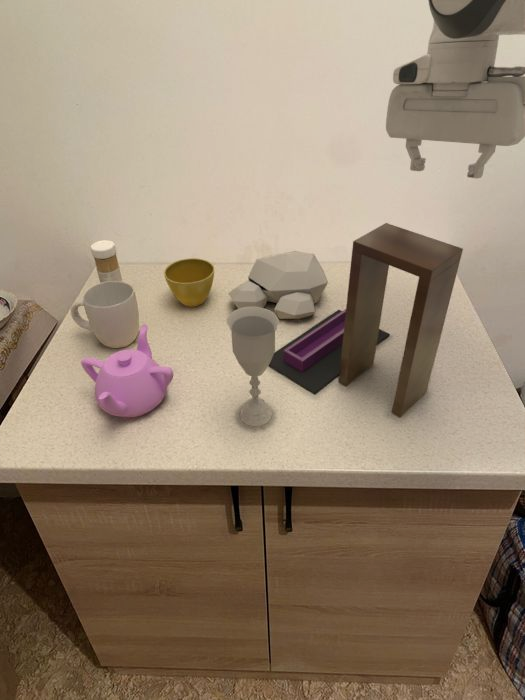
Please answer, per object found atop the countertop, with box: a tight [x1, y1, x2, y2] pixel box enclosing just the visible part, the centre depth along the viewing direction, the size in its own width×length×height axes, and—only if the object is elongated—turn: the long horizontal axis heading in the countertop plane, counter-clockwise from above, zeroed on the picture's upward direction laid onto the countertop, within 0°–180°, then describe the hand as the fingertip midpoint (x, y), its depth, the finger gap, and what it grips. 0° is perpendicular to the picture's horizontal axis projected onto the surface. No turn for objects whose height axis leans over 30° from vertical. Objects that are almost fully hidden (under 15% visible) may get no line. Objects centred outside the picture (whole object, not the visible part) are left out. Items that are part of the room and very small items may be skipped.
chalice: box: [226, 307, 280, 427], centre depth 74 cm, size 7×7×18 cm
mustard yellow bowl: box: [163, 257, 215, 308], centre depth 103 cm, size 10×10×7 cm
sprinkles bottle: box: [90, 239, 124, 283], centre depth 101 cm, size 5×5×14 cm
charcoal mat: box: [268, 309, 391, 395], centre depth 92 cm, size 22×12×1 cm, turn 136°
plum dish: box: [284, 308, 346, 373], centre depth 93 cm, size 22×4×3 cm, turn 135°
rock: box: [228, 250, 329, 320], centre depth 102 cm, size 18×20×10 cm
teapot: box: [80, 323, 174, 419], centre depth 80 cm, size 12×14×9 cm
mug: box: [70, 281, 140, 349], centre depth 93 cm, size 13×9×10 cm
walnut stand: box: [338, 222, 464, 418], centre depth 76 cm, size 8×12×26 cm, turn 46°
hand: (444, 174), depth 75 cm, fingers open, 8 cm apart
